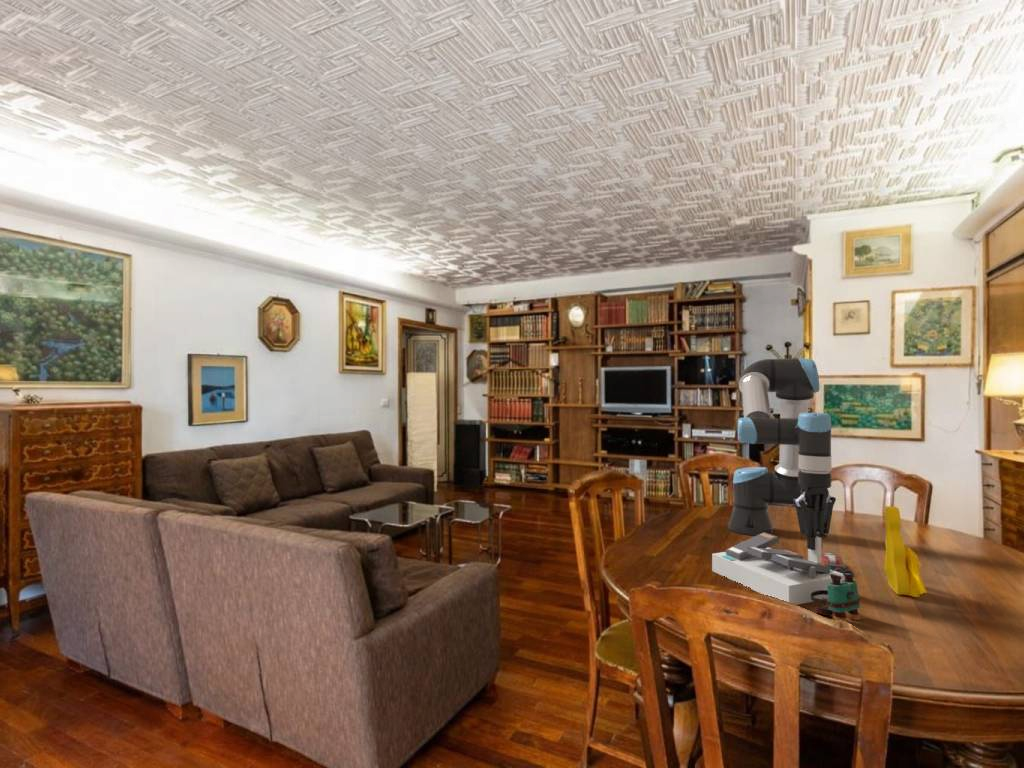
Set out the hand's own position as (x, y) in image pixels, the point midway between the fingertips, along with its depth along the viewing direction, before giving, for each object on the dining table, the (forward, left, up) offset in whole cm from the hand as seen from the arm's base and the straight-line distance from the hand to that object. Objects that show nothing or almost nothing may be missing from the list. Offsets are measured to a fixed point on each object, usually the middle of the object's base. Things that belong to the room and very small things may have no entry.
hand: (814, 561), depth 134 cm
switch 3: (+5, 0, 0) cm, 5 cm away
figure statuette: (-20, +9, -8) cm, 23 cm away
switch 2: (+5, -8, 0) cm, 9 cm away
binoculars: (+9, +12, -8) cm, 17 cm away
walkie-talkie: (-16, -9, -8) cm, 20 cm away
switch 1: (+5, -16, 0) cm, 17 cm away
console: (+5, -8, -8) cm, 12 cm away
